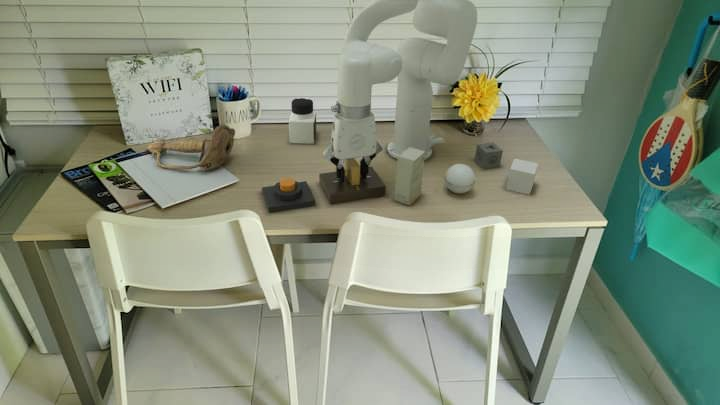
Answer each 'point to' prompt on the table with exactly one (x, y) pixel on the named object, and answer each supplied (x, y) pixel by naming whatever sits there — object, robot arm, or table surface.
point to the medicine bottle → (302, 121)
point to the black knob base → (288, 197)
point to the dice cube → (488, 155)
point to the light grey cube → (521, 176)
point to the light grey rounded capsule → (460, 178)
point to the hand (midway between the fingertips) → (352, 177)
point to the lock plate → (351, 187)
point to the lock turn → (352, 171)
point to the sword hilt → (199, 149)
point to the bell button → (287, 185)
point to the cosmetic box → (409, 175)
